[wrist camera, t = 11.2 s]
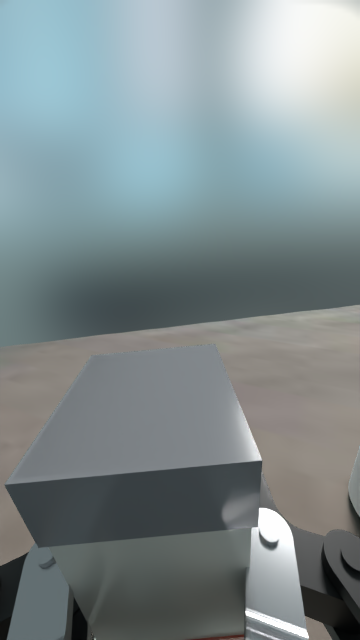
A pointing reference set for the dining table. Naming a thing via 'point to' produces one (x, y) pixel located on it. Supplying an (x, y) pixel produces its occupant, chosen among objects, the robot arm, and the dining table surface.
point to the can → (355, 484)
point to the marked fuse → (147, 495)
